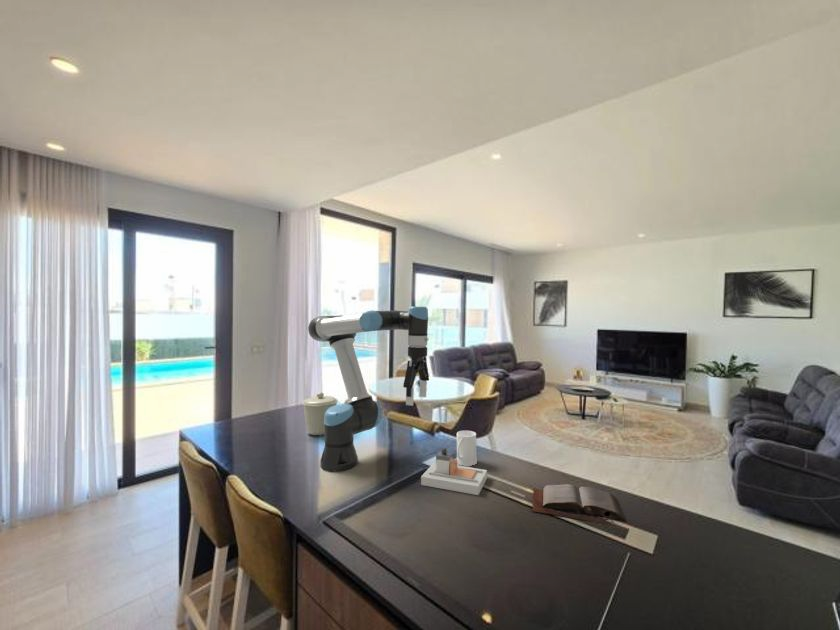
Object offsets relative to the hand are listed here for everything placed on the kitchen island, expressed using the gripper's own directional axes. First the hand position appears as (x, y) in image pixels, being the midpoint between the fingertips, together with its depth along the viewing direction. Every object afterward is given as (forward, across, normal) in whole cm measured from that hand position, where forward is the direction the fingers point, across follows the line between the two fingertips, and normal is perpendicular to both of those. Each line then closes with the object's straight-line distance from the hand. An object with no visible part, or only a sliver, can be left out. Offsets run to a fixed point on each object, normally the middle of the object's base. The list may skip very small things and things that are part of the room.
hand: (416, 400), depth 143 cm
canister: (+31, +27, +64) cm, 76 cm away
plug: (+27, -2, -13) cm, 30 cm away
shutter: (+24, -2, -20) cm, 31 cm away
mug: (+28, +15, -16) cm, 35 cm away
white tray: (+27, -2, -17) cm, 32 cm away
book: (+27, -3, -59) cm, 64 cm away
